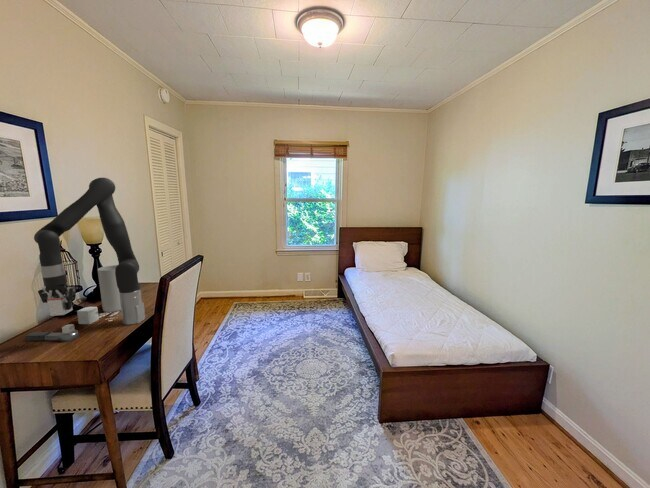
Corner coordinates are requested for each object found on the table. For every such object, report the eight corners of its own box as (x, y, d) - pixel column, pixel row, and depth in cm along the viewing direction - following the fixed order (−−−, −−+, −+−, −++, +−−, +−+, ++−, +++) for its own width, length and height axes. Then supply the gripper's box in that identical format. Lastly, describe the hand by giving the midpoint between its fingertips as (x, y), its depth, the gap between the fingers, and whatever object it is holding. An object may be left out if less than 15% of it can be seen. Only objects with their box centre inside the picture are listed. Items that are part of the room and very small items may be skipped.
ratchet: (82, 334, 134) (80, 322, 133) (71, 341, 128) (69, 328, 127) (36, 335, 133) (34, 323, 132) (22, 342, 127) (20, 329, 126)
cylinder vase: (112, 313, 158) (107, 271, 154) (97, 310, 162) (92, 269, 158) (134, 305, 170) (129, 266, 166) (119, 303, 174) (114, 264, 170)
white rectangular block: (73, 309, 131) (69, 293, 129) (64, 314, 125) (60, 298, 124) (59, 310, 130) (56, 294, 128) (50, 315, 124) (46, 299, 123)
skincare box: (89, 324, 145) (87, 311, 144) (78, 324, 146) (76, 310, 144) (99, 319, 151) (97, 306, 150) (88, 319, 152) (87, 306, 150)
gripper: (78, 271, 129) (84, 305, 132) (42, 273, 127) (50, 308, 130) (65, 275, 122) (73, 312, 125) (28, 277, 120) (36, 314, 123)
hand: (61, 309), depth 127 cm, fingers closed on white rectangular block, 5 cm apart
